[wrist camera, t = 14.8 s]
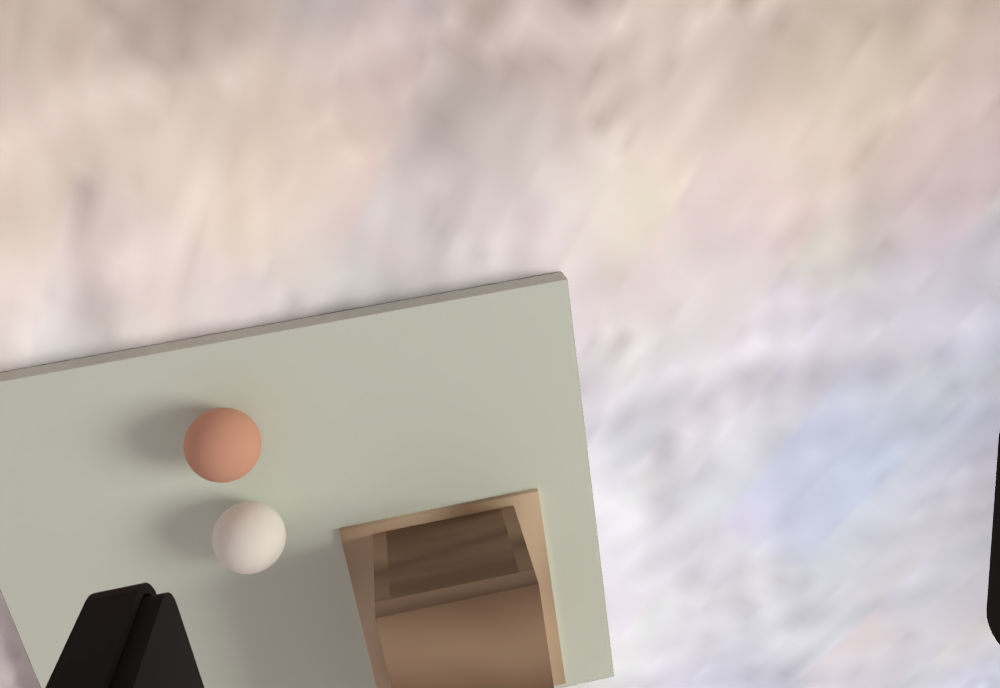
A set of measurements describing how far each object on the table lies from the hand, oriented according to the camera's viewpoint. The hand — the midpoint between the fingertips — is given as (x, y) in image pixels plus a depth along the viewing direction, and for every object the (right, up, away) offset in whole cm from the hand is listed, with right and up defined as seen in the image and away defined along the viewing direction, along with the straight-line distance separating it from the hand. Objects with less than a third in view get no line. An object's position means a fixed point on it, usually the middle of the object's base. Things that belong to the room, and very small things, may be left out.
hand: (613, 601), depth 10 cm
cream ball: (-12, -5, +29) cm, 32 cm away
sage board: (-10, -6, +31) cm, 33 cm away
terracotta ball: (-13, -1, +27) cm, 30 cm away
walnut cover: (-3, -10, +32) cm, 33 cm away
